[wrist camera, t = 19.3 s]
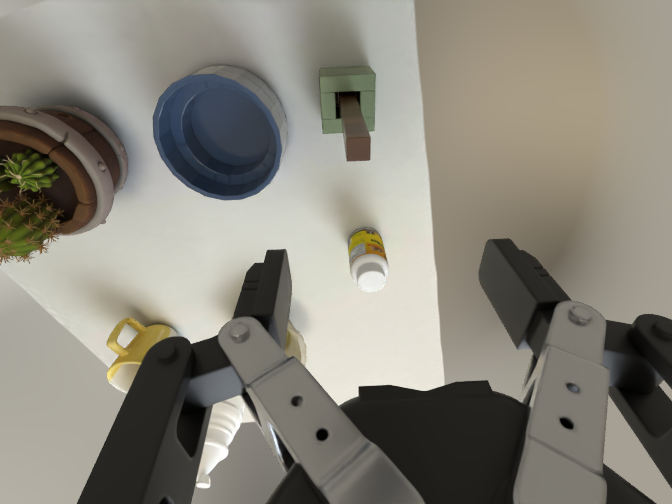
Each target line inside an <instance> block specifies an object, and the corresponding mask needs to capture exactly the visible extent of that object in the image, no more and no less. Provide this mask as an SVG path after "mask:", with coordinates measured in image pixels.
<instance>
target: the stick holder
mask: <svg viewBox="0 0 672 504" xmlns="http://www.w3.org/2000/svg"><path fill="white" fill-rule="evenodd" d="M375 78H376V74H375V73H374V71H373V70H372V69H371V68H370V66H359V67H340V68H322V69H320V73H319V84H320V99H321V114H322V129H323V134H331V133H343V130H342V123H341V115H340V108H339V106H337V107H336V103H335V92H348V91H356V98H357V101H358V103H359V106H360V109H361V112H362V115H363V118H364V120H365V123H366V126H367V129H368V132H369V131H374V124H375V117H374V116H375Z"/></svg>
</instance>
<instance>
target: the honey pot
mask: <svg viewBox="0 0 672 504" xmlns="http://www.w3.org/2000/svg"><path fill="white" fill-rule="evenodd" d="M244 406H245V403H244V402H243V400H242V398H241V397H240V395H238V396H236V397H233V398H230V399H227V400H224V401H222V402H219V403H216V404H213V408H212V412H211V417H210V421H209V425H208V430H207V434H206V439H205V443H204V448H203V452H202V457H201V461H200V466H199V470H198V474H197V479H196V480H198V482H197V487H200V488H209V487H210V477H209V476H208V475H207V474H208V473H209V472H210V471H211V470H212V469H213V468H214V467H215V465H216V464H217V463H218V461H220V460H223V459H224V458H225V457H226V456H227V455H228V448H227V447H228V445H229V444H230V443H231V442H232V439H233V437H234V435H235V434H236V431H237V430H238V429H239V427H240V424H241V420H242V416H243V411H244Z"/></svg>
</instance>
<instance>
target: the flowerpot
mask: <svg viewBox="0 0 672 504" xmlns="http://www.w3.org/2000/svg"><path fill="white" fill-rule="evenodd" d="M127 172H128V159H127V155H126V152H125V149H124V146H123V145H122V143H121V142H120V140H119V139H118V137H117V135H116V134H115V133H114V132H113V131H112V130H111V129H110V128H109V127H108V126H107V125H105V124H104V123H103V122H102V121H100V120H99V119H98V118H96V117H95V116H93V115H91V114H90V113H88V112H86V111H83V110H81V109H79V108H78V107H76V106H74V107H71V106H60V105H50V106H42V107H38V108H35V109H32V108H24V107H17V106H0V258H1V260H2V259H3V257H4V261H5V259H6V260H7V259H8V258H9V257H10V256H12V258H13V256H15V257H16V256H21V258H22V257H23V258H24V260H23V259H22V260H23V262H25V259H26V258H27V259H28V257H29V256H30V252H32V251H34V250H38V249H39V250H40V254H41V252H42V249H45V250H46V249H48V248H45V247H43V246H46V245H45V244H44V245H42V244H43V243H44V240H46V239H47V238H48V242H49V239H50V238H51V242H52V239H53V237H54V236H52V235H62V236H66V235H76V234H80V233H84V232H87V231H89V230H91V229H93V228H95V227H97V226H98V225H99V224H105V223H106V220H105V218H106V217H107V216H108V214H109V213H110V211H111V208H112V204H113V199H114V194H115V193H117V192H118V191H119V190H121V189H122V188H123V184H124V182H125V179H126V176H127ZM57 237H59V236H57ZM55 238H56V237H55ZM57 239H59V238H57ZM53 241H55V240H54V239H53ZM46 244H47V245H49V244H48V243H46ZM47 247H48V246H47ZM43 251H44V250H43ZM44 252H45V251H44ZM47 252H48V251H47ZM47 252H46V253H47ZM28 254H29V256H27V255H28ZM32 254H33V253H32ZM5 256H6V257H7V258H6V257H5ZM8 256H9V257H8ZM21 258H20V259H21ZM30 258H35V257H30ZM30 258H29V259H30ZM9 259H10V258H9ZM13 259H14V258H13ZM16 259H17V257H16ZM18 259H19V258H18ZM18 259H17V260H18ZM20 259H19V260H20ZM1 260H0V262H2V261H1ZM11 260H12V259H11ZM19 260H18V261H19ZM7 261H8V260H7ZM18 261H17V262H18ZM28 261H29V260H28ZM8 262H9V261H8ZM19 262H20V261H19ZM5 263H6V261H5ZM29 263H30V262H29ZM0 265H1V264H0Z"/></svg>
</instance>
